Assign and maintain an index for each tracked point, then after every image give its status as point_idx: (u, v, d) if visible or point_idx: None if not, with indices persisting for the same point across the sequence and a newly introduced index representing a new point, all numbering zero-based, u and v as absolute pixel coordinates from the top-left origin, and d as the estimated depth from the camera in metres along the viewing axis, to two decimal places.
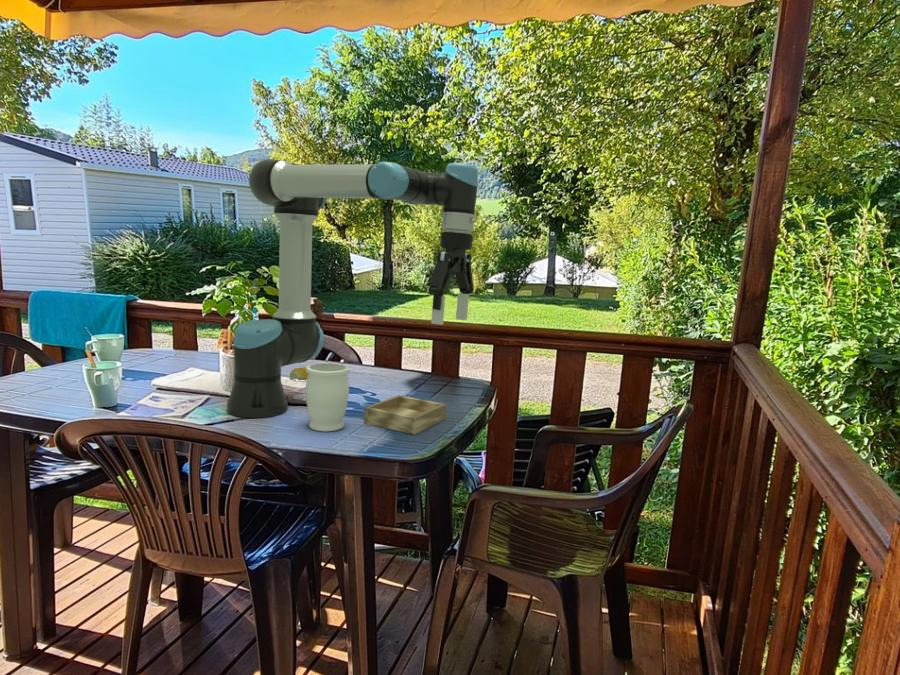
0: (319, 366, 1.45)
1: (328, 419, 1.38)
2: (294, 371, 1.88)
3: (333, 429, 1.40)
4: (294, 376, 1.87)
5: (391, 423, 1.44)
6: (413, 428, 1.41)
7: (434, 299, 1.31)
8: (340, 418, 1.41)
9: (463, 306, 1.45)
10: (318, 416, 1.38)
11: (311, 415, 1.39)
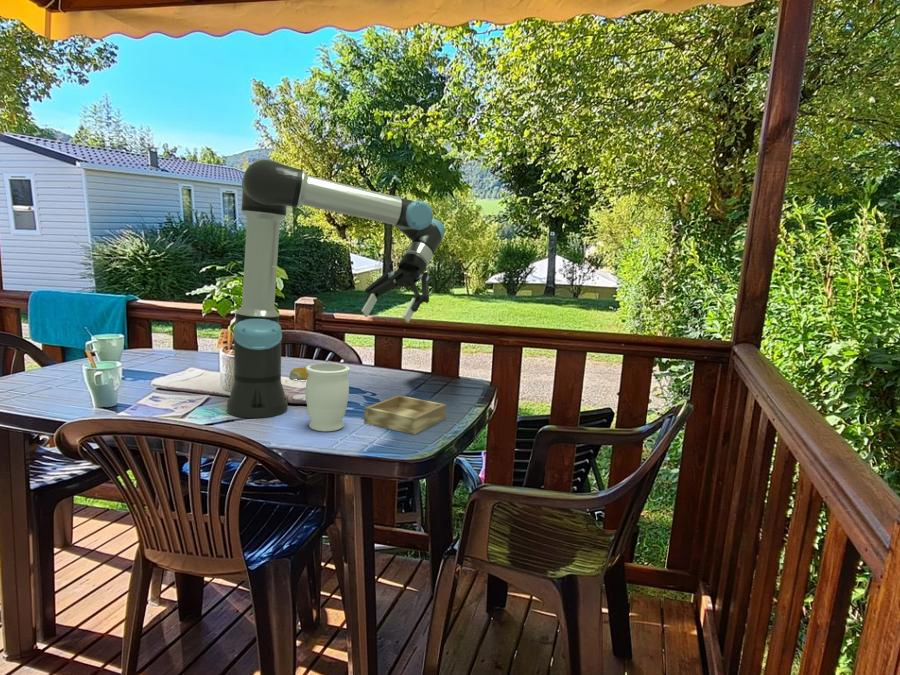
0: (319, 366, 1.45)
1: (328, 419, 1.38)
2: (294, 371, 1.88)
3: (333, 429, 1.40)
4: (294, 376, 1.87)
5: (391, 423, 1.44)
6: (413, 428, 1.41)
7: (418, 303, 1.58)
8: (340, 418, 1.41)
9: (371, 306, 1.65)
10: (318, 416, 1.38)
11: (311, 415, 1.39)
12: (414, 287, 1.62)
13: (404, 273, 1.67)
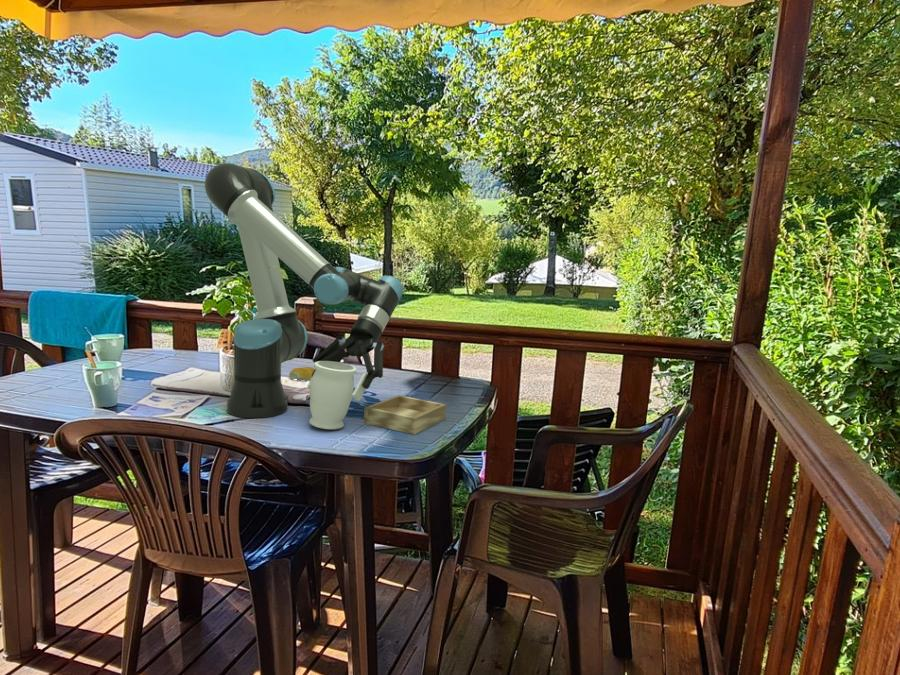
0: (326, 363, 1.45)
1: (330, 417, 1.39)
2: (293, 371, 1.88)
3: (333, 428, 1.40)
4: (293, 376, 1.87)
5: (391, 423, 1.44)
6: (413, 428, 1.41)
7: (370, 378, 1.41)
8: (342, 417, 1.41)
9: None
10: (321, 413, 1.38)
11: (313, 411, 1.39)
12: (366, 359, 1.44)
13: (356, 341, 1.49)
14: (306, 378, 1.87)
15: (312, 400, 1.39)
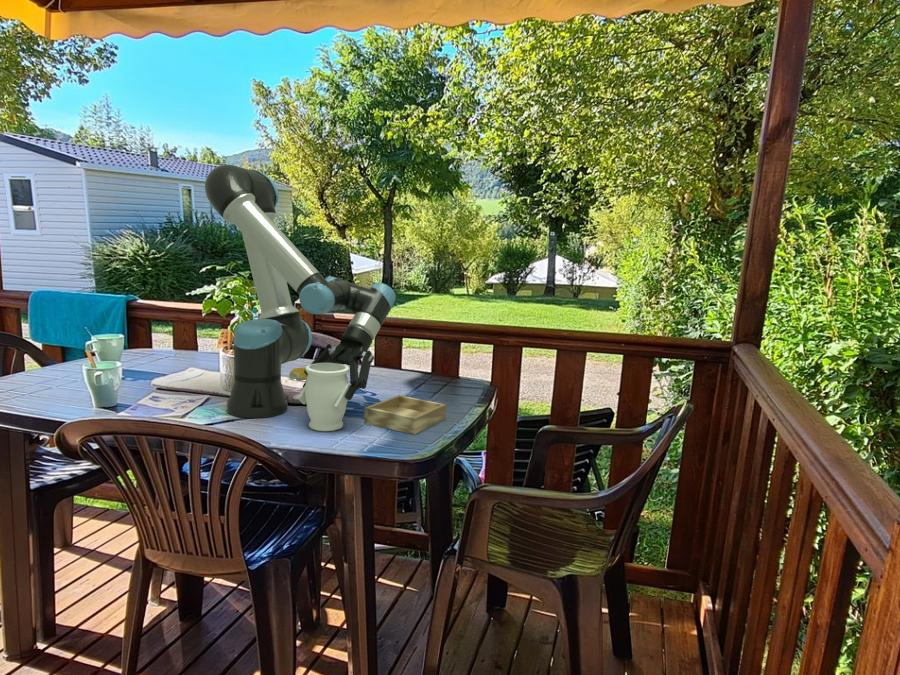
0: (318, 365, 1.44)
1: (328, 419, 1.39)
2: (293, 371, 1.88)
3: (333, 429, 1.40)
4: (293, 376, 1.87)
5: (391, 423, 1.44)
6: (413, 428, 1.41)
7: (353, 389, 1.39)
8: (340, 418, 1.41)
9: None
10: (318, 416, 1.38)
11: (311, 415, 1.39)
12: (352, 369, 1.42)
13: (347, 348, 1.47)
14: (306, 378, 1.87)
15: (308, 404, 1.39)
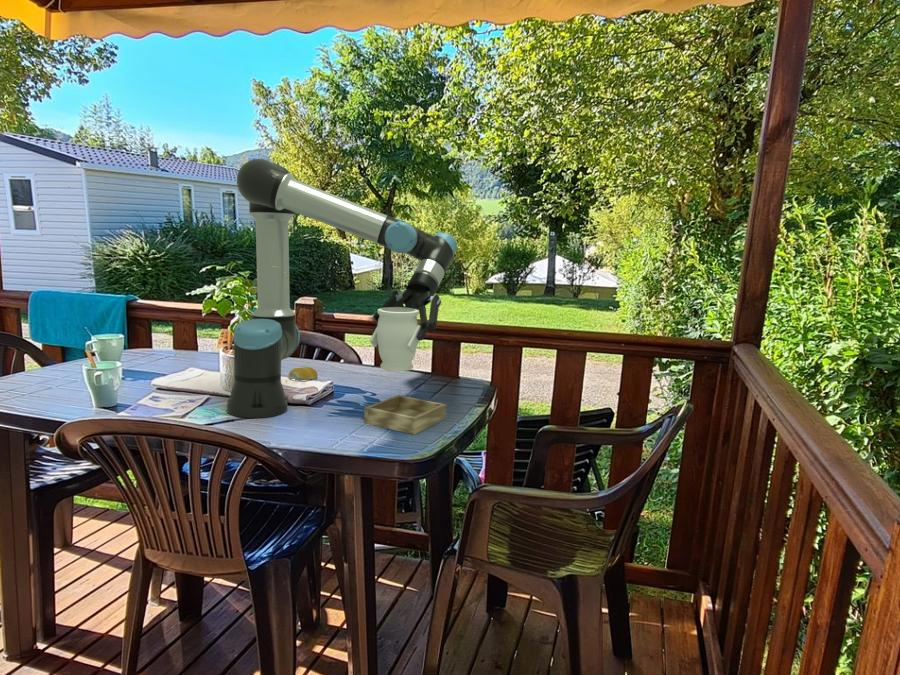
0: (387, 310, 1.48)
1: (401, 359, 1.43)
2: (293, 371, 1.88)
3: (405, 369, 1.44)
4: (293, 376, 1.87)
5: (391, 423, 1.44)
6: (413, 428, 1.41)
7: (424, 330, 1.43)
8: (411, 359, 1.45)
9: None
10: (391, 356, 1.42)
11: (384, 356, 1.43)
12: (422, 312, 1.46)
13: (414, 293, 1.51)
14: (305, 378, 1.87)
15: (381, 345, 1.43)
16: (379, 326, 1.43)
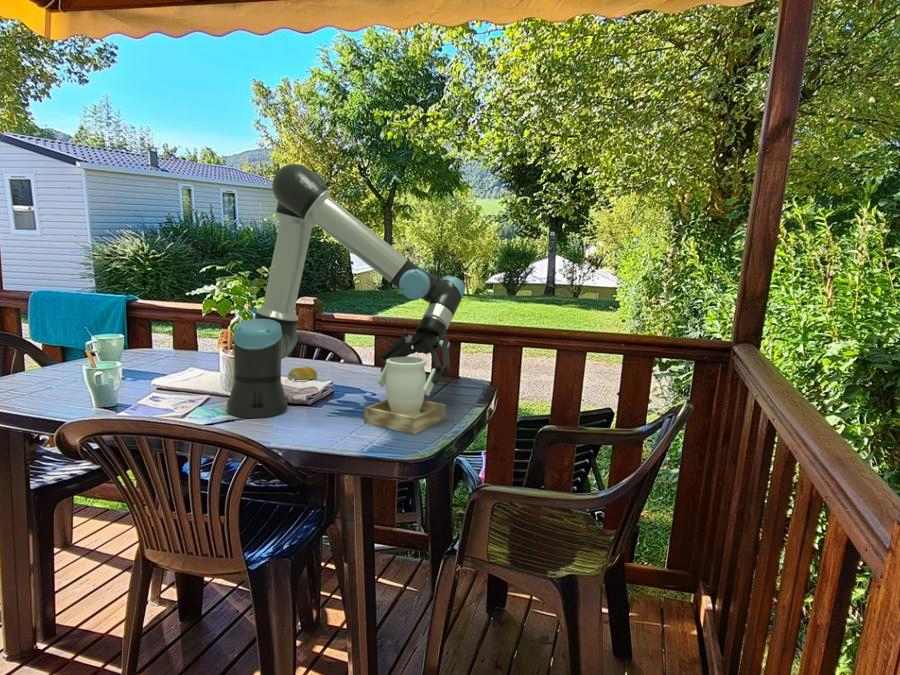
0: (395, 359, 1.53)
1: (409, 408, 1.47)
2: (292, 371, 1.87)
3: None
4: (292, 376, 1.87)
5: (391, 423, 1.44)
6: (413, 428, 1.41)
7: (439, 374, 1.47)
8: (419, 407, 1.49)
9: None
10: (400, 406, 1.46)
11: (393, 405, 1.47)
12: (434, 356, 1.50)
13: (423, 338, 1.55)
14: (305, 378, 1.87)
15: (390, 395, 1.47)
16: (388, 377, 1.47)
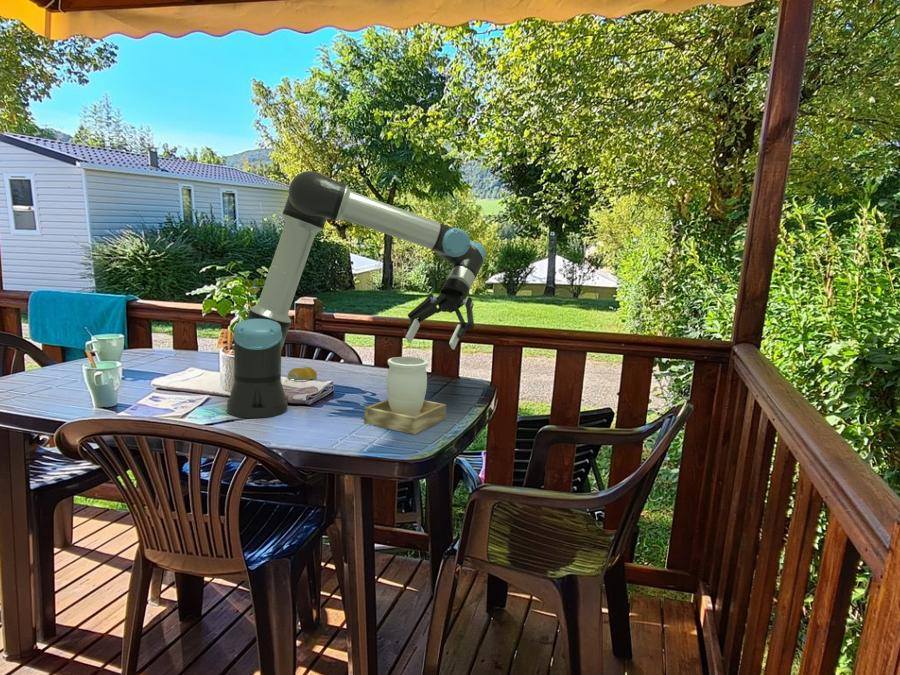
0: (396, 359, 1.53)
1: (410, 409, 1.47)
2: (292, 371, 1.87)
3: None
4: (292, 376, 1.87)
5: (391, 423, 1.44)
6: (413, 428, 1.41)
7: (463, 329, 1.57)
8: (420, 408, 1.49)
9: (414, 331, 1.63)
10: (401, 407, 1.46)
11: (393, 406, 1.47)
12: (459, 313, 1.60)
13: (447, 298, 1.65)
14: (305, 378, 1.87)
15: (391, 396, 1.47)
16: (389, 377, 1.47)
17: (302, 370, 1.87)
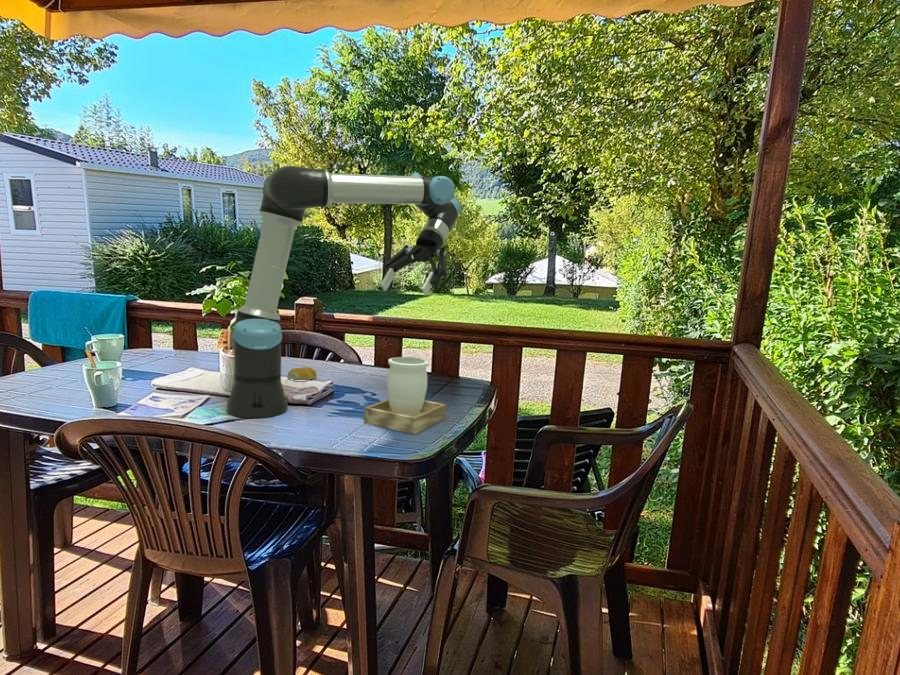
0: (397, 360, 1.53)
1: (410, 409, 1.47)
2: (292, 371, 1.87)
3: None
4: (292, 376, 1.87)
5: (391, 423, 1.44)
6: (413, 428, 1.41)
7: (436, 276, 1.62)
8: (420, 408, 1.49)
9: (389, 280, 1.68)
10: (401, 406, 1.46)
11: (394, 406, 1.47)
12: (432, 261, 1.65)
13: (422, 248, 1.70)
14: (305, 378, 1.86)
15: (391, 395, 1.47)
16: (390, 377, 1.47)
17: (302, 370, 1.87)
